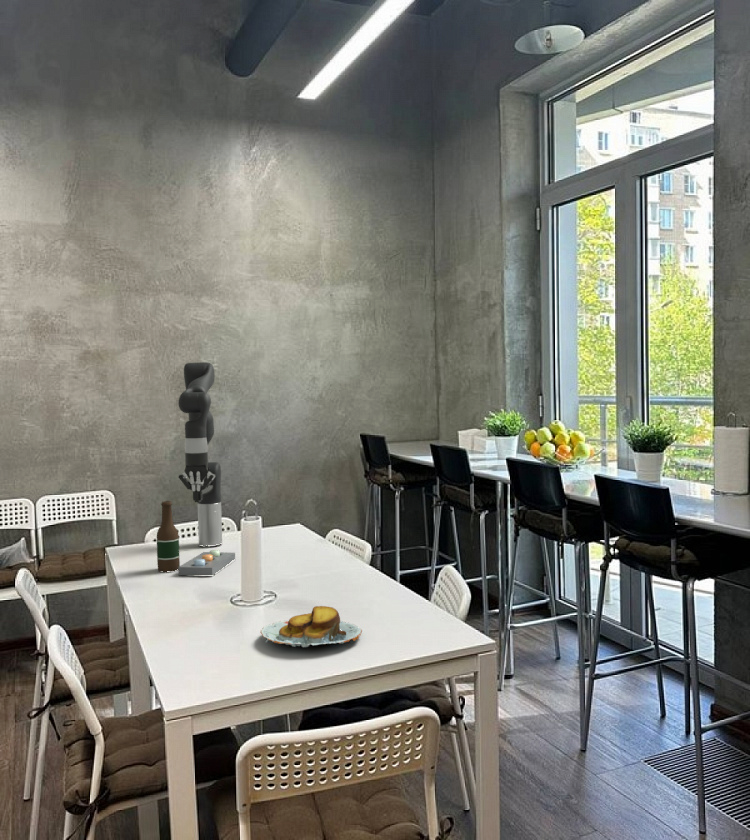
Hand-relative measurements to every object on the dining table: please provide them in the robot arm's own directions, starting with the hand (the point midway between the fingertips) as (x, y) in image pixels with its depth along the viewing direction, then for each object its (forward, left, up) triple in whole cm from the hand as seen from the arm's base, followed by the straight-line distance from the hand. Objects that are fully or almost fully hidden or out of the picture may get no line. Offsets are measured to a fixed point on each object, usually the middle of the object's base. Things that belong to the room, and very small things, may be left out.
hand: (197, 501), depth 260 cm
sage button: (-14, 0, -23) cm, 27 cm away
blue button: (0, 0, -23) cm, 23 cm away
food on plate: (+60, +54, -25) cm, 84 cm away
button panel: (-7, 0, -25) cm, 26 cm away
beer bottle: (-4, -13, -25) cm, 28 cm away
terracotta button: (-7, 0, -23) cm, 24 cm away
